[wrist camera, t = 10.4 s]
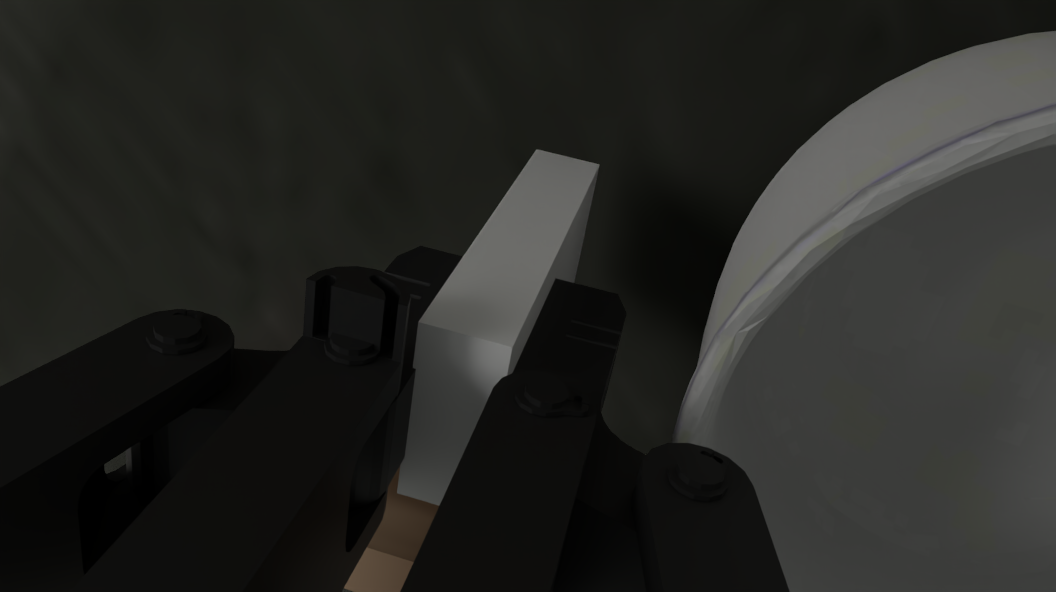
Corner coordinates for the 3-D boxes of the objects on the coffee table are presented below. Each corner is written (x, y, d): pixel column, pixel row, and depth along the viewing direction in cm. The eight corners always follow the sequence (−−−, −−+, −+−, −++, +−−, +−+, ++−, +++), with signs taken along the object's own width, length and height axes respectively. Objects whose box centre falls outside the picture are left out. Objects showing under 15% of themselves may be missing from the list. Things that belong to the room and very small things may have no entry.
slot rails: (249, 459, 25) (185, 537, 22) (263, -598, 14) (146, -681, 12) (697, 598, 23) (684, 698, 21) (1085, -482, 13) (1155, -548, 10)
